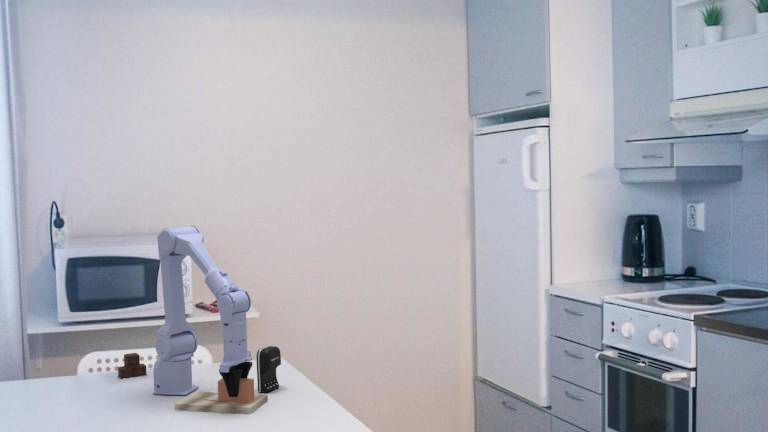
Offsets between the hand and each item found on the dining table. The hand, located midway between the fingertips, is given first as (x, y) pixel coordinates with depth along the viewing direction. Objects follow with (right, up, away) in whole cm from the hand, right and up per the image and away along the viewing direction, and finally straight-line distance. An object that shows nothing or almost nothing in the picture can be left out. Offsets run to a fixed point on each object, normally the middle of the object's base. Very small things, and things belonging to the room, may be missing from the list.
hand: (236, 394), depth 196 cm
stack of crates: (-37, -3, +33) cm, 50 cm away
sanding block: (0, -1, 0) cm, 1 cm away
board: (-4, -3, +1) cm, 5 cm away
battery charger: (+6, -2, +14) cm, 16 cm away
